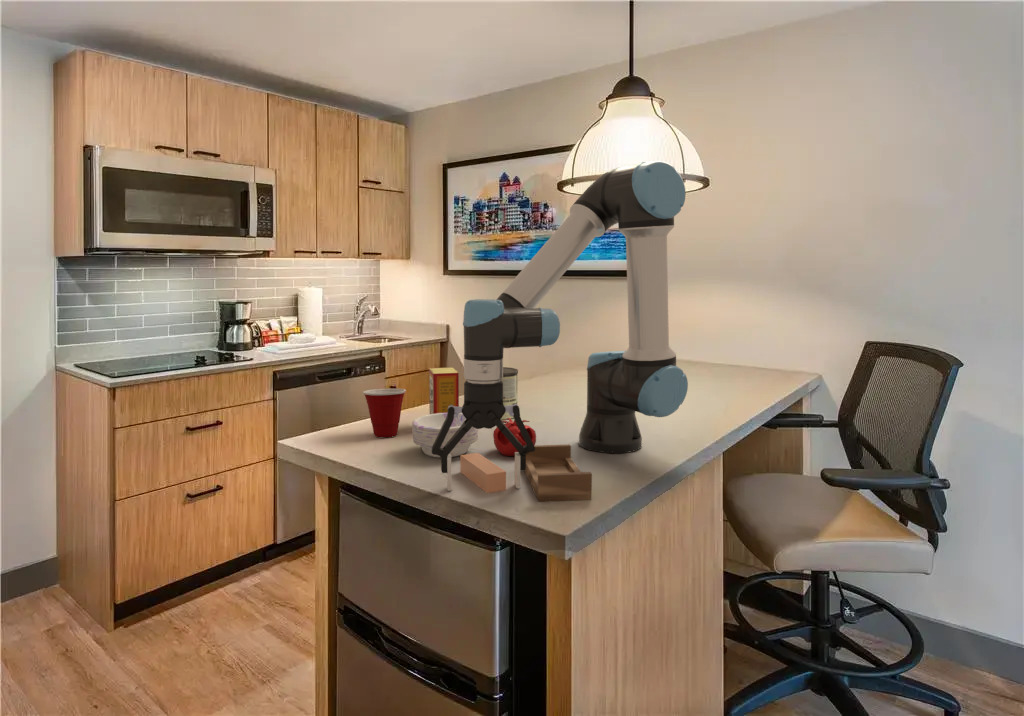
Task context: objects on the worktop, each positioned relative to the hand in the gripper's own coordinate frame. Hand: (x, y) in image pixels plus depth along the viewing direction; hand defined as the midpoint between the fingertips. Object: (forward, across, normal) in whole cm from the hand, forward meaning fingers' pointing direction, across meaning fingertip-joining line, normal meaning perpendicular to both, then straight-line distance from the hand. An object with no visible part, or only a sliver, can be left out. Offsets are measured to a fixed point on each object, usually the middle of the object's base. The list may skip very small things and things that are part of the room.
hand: (483, 487), depth 127 cm
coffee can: (0, +9, +58) cm, 58 cm away
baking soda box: (0, -7, +48) cm, 49 cm away
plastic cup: (0, -22, +42) cm, 48 cm away
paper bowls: (0, -7, +26) cm, 26 cm away
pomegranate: (0, +9, +24) cm, 25 cm away
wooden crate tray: (0, +15, +2) cm, 15 cm away
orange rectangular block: (0, 0, +4) cm, 5 cm away
